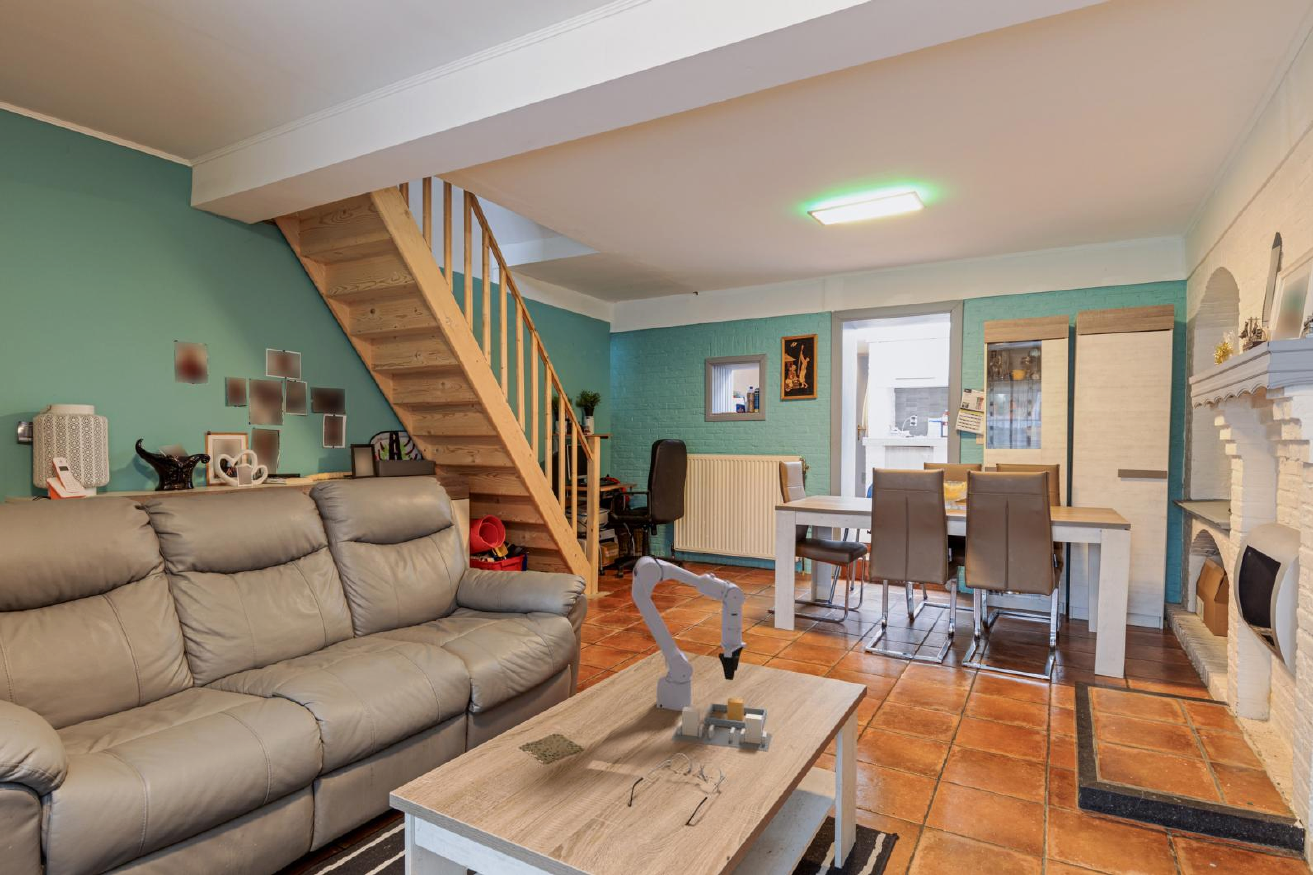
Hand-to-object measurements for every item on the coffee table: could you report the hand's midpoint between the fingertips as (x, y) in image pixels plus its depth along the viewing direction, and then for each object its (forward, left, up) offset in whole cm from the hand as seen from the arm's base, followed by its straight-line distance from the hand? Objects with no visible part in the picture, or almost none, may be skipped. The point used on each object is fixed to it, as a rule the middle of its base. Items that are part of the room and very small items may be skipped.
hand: (731, 674), depth 196 cm
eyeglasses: (-4, -50, -10) cm, 51 cm away
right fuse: (+9, -23, -8) cm, 25 cm away
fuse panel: (+1, -23, -9) cm, 24 cm away
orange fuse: (+3, -11, -9) cm, 14 cm away
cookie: (-39, -37, -10) cm, 55 cm away
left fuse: (-7, -23, -8) cm, 25 cm away
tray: (+3, -11, -9) cm, 15 cm away
